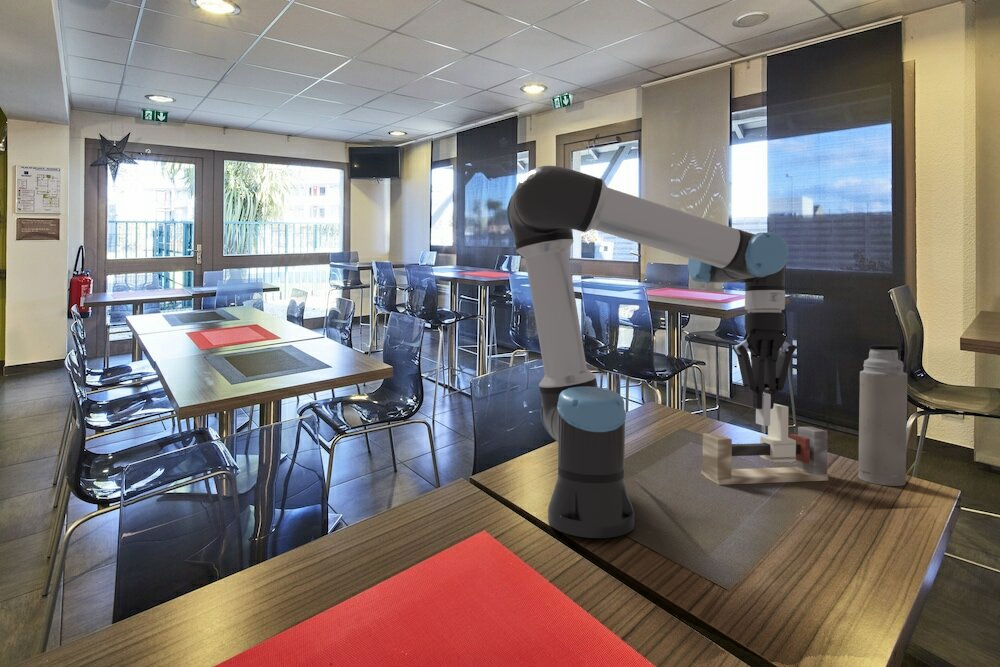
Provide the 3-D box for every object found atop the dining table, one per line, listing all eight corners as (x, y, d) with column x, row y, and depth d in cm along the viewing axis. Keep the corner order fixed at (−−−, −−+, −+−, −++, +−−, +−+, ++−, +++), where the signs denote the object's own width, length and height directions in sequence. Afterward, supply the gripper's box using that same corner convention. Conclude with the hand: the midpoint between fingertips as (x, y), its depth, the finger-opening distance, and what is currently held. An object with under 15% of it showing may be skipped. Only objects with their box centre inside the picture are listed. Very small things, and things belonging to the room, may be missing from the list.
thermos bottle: (850, 474, 115) (852, 343, 114) (890, 475, 114) (892, 344, 113) (872, 485, 107) (874, 345, 106) (915, 486, 106) (917, 345, 106)
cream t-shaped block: (773, 462, 110) (773, 406, 110) (760, 456, 114) (760, 403, 114) (795, 461, 111) (796, 406, 110) (781, 456, 115) (782, 403, 115)
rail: (718, 484, 107) (719, 435, 107) (701, 474, 114) (701, 428, 114) (830, 480, 110) (831, 432, 110) (806, 471, 117) (807, 425, 117)
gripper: (745, 311, 107) (744, 428, 107) (805, 311, 109) (803, 427, 109) (725, 311, 114) (723, 421, 115) (781, 312, 116) (780, 420, 116)
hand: (762, 424), depth 112 cm, fingers closed
